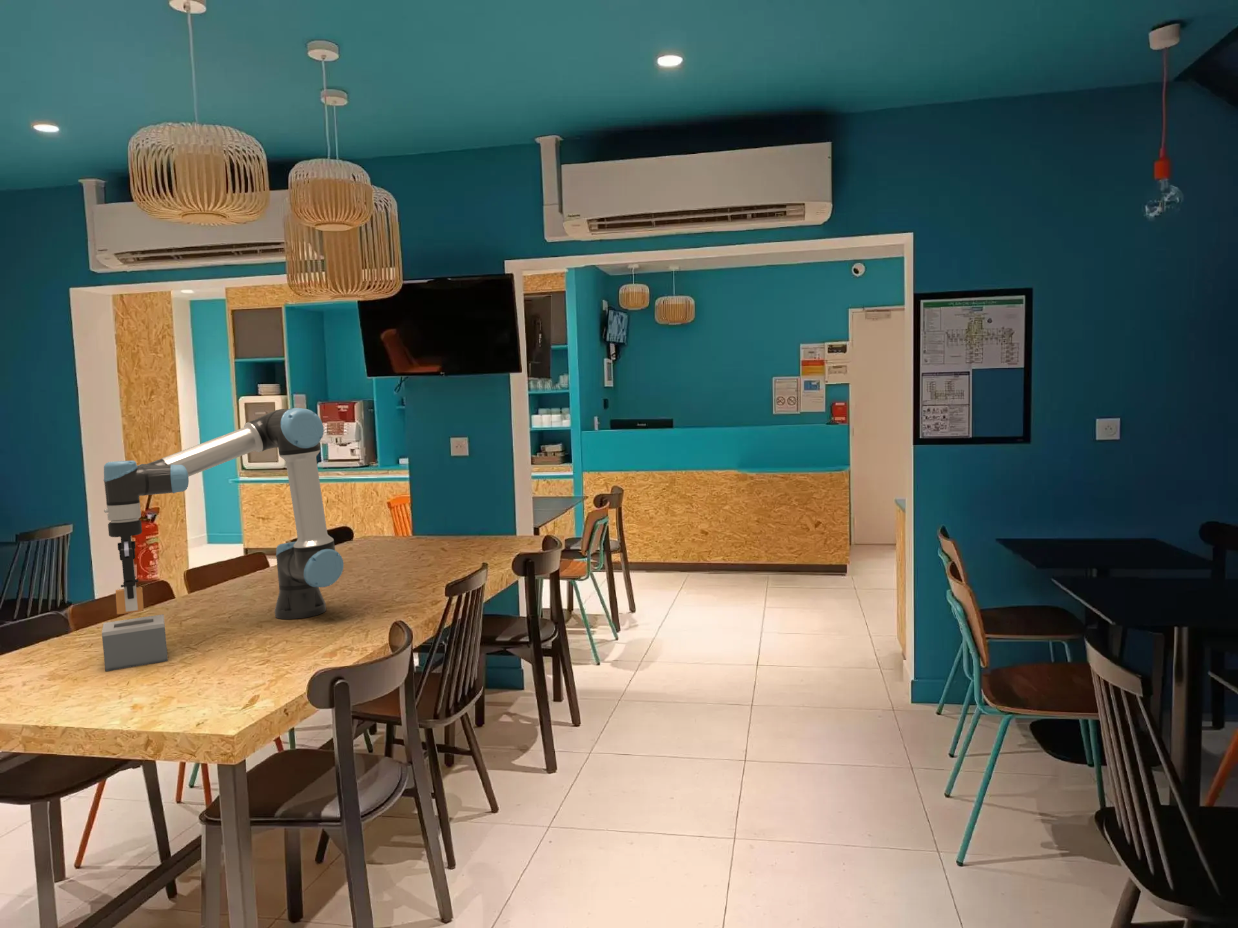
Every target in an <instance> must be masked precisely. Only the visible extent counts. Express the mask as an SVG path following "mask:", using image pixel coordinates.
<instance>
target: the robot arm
mask: <svg viewBox="0 0 1238 928" xmlns="http://www.w3.org/2000/svg"><path fill="white" fill-rule="evenodd" d="M324 428H325V427H324V424H323V421H322V419H321V417H320V416H319V415H318V414H317V413H316V412H314V411H313V410H311V409H307V408H301V407H292V408H281V409H275V410H273V411H271V412H269V413H266V414H264V415H262V416H260V417H258V418H255V419H253V420H250V421H248V422H246V423H245V424H244V426H243V427H242V428H239V429H236V430H234V431H231V432H228V433H226V434H224V435H220V436H217V437H215V438H212V439H210V440H207V441H204V442H202V443H200V444H197V445H193V446H190V447H189V448H186V449H183V450H180V451H178V452H175V453H172V454H169V455H167V456H164V457H162V458H159V459H157V460H154V461H151V462H148V463H142V464H138V465H137V462H136V461H135V460H117V461H108V462H106V463H105V464H104V465H103V482H104V484H103V485H104V492H105V500H106V508H105V509H104V510H103V512H104V513H106V515H107V520H108V521H110V522H108V523H107V527H108V529H107V530H108V536H109V537H110V538H120V542H117V550H118V552H119V553H118V554H119V561H121V567H122V576H123V577H122V578H123V582H122V584H120V588H123V589H124V595H125V607H126V612H128V611H136V610H138V605H137V593H136V588H137V583H139V579H136V574H135V573H136V572H135V562H134V561H135V558H136V541H134V540H132V536H138V535H141V534H142V533H143V529H142V527H143V525H142V520H141V519H140V518H141V517H142V510H141V501H140V496H141V497H142V496H143V497H144V496H151V495H152V496H153V495H163V494H176V493H183V492H185V491H186V490H187V489H188V487H189V477H190V476H194V475H196V474H198V473H202V472H204V471H208V470H210V469H213V468H214V467H216V466H219V465H222V464H224V463H227V462H229V461H232V460H234V459H238V458H240V457H242V456H245V455H247V454H250V453H253V452H257V453H261V452H264V451H266V450H271V449H276V448H277V450H278V456H279V457H280V458H281V459H283V460H284V461H285V465H286V471H287V477H288V478H287V479H288V484H289V485H288V486H289V491H290V497H291V504H292V511H293V516H294V517H293V518H294V523H295V529H296V535H297V539H296V541H292V542H291V541H290V542H284V543H280V544H278V545H277V546H276V547H275V548H276V552H275V553H276V554H275V557H276V566H277V578H278V591H279V593H278V595H277V600H276V603H275V608H274V617H275V618H276V619H282V620H296V619H297V620H298V619H303V618H304V619H305V618H311V617H315V616H319V615H321V614H323V613H325V612H326V611H327V605H326V601H325V599H324V597H323V595H322V593H321V590H320V588H326V587H330V586H331V585H333V584H335V583H336V582H337V581H338V580H339V579H340V577H341V576H342V574H343V571H344V568H345V567H344V566H345V565H344V564H345V563H344V559H343V557H342V555H341V554H340V553H339V552H338V551H337V550H336V547H335V540H334V538H333V537H332V536H330V535H329V534H328V530H327V523H326V515H325V509H324V503H323V496H322V490H321V482H320V474H319V469H318V461H317V456H318V455H319V453H320V452H321V445H320V442H321V440H322V438H323V436H324V431H325V430H324Z"/></svg>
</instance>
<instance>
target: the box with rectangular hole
mask: <svg viewBox="0 0 1238 928" xmlns="http://www.w3.org/2000/svg"><path fill="white" fill-rule="evenodd" d="M165 624H166V623H165V615H164V614H156V615H149V616H143V617H142V616H141V617H136V618H130V619H129V618H128V619H123V620H122V619H121V620H115V621H107V622H103V624H102V625H103V626H102V630H101V637H102V639H101V640H102V649H103V659H104V660H103V661H104V670H105V672H110V671H111V672H112V671H117V670H122V669H128V668H134V667H140V666H145V665H146V666H147V665H152V664H153V665H154V664H158V663H165V662H168V661H169V659H168V647H167V637H166V625H165Z"/></svg>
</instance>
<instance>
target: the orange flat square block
mask: <svg viewBox="0 0 1238 928" xmlns="http://www.w3.org/2000/svg"><path fill="white" fill-rule="evenodd" d="M143 591H144V590H143V587H142V586H138V587H137V586H136V593H137V605H138V610H136V611H128V612H126V607H125V595H124V588H120V589H119V588H118V589H115V604H116V606H115V607H116V615H123V614H132V613H133V614H134V613H139V612H140V613H141V612H144V610H145V609H144V595H143Z"/></svg>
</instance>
